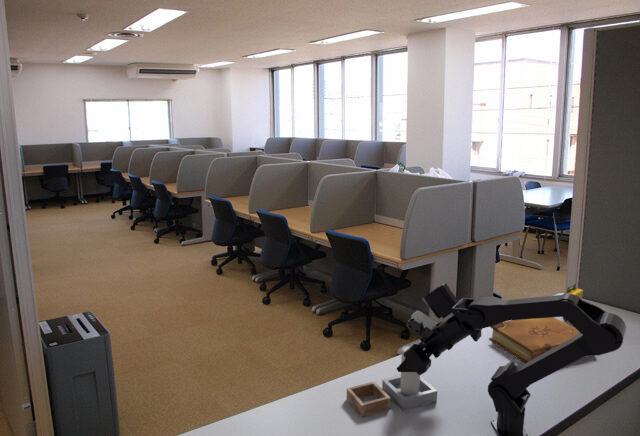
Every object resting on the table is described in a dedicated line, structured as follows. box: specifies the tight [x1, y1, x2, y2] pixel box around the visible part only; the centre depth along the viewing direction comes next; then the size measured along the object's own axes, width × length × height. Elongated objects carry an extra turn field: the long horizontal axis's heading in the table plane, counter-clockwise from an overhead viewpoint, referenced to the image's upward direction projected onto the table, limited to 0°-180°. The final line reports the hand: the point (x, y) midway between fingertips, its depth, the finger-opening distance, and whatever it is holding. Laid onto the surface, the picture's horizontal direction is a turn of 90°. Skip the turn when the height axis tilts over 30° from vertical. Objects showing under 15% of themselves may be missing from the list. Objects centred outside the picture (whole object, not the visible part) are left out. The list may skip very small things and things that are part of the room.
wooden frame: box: [346, 381, 392, 417], centre depth 125 cm, size 8×8×3 cm
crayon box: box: [562, 282, 584, 321], centre depth 173 cm, size 7×3×12 cm, turn 131°
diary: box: [488, 317, 579, 364], centre depth 154 cm, size 23×19×6 cm
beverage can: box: [400, 344, 421, 396], centre depth 127 cm, size 5×5×12 cm
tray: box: [381, 374, 438, 412], centre depth 128 cm, size 10×10×3 cm
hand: (405, 362), depth 127 cm, fingers open, 9 cm apart
